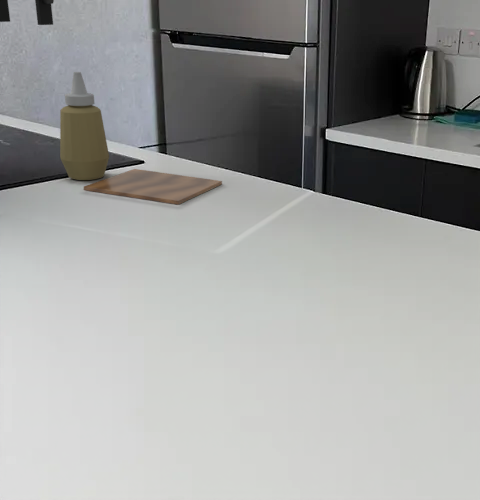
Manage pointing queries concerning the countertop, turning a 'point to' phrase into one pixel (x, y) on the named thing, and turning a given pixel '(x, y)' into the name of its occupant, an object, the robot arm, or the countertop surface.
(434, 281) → the countertop surface
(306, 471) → the countertop surface
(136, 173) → the wooden board
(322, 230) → the countertop surface
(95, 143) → the squeeze bottle
